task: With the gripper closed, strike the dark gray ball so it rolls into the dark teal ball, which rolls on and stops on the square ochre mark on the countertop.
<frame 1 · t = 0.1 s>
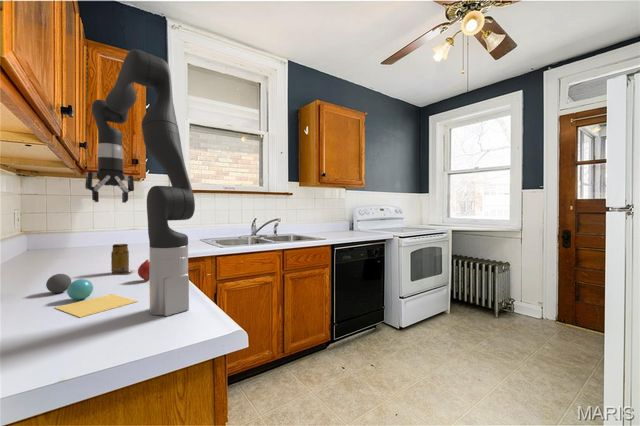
hand: (110, 202, 105), 29 cm above the worktop, tool pointing down, fingers open, 8 cm apart
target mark: (97, 304, 82), on the worktop
dark gray ball: (59, 283, 93), on the worktop
condiment: (122, 273, 121), on the worktop
object ball: (80, 289, 86), on the worktop
onion: (146, 281, 109), on the worktop
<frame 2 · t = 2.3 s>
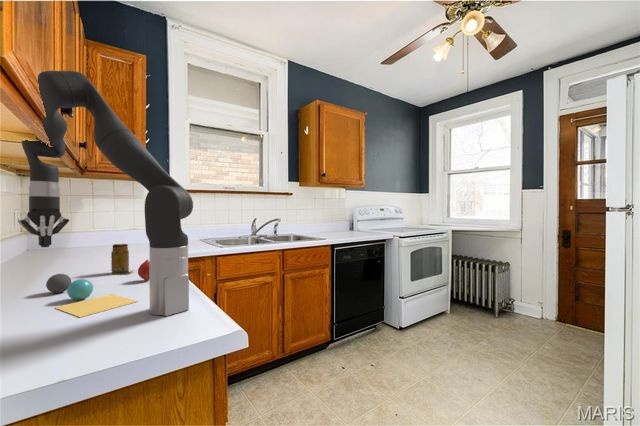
hand: (44, 247, 97), 14 cm above the worktop, tool pointing down, fingers closed
nothing on the worktop moved.
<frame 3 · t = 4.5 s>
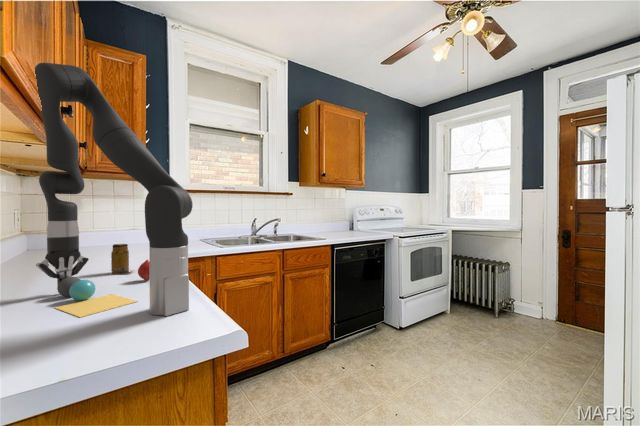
hand: (64, 289, 92), 1 cm above the worktop, tool pointing down, fingers closed
dark gray ball: (70, 286, 89), on the worktop
object ball: (82, 290, 86), on the worktop
everything else where it was.
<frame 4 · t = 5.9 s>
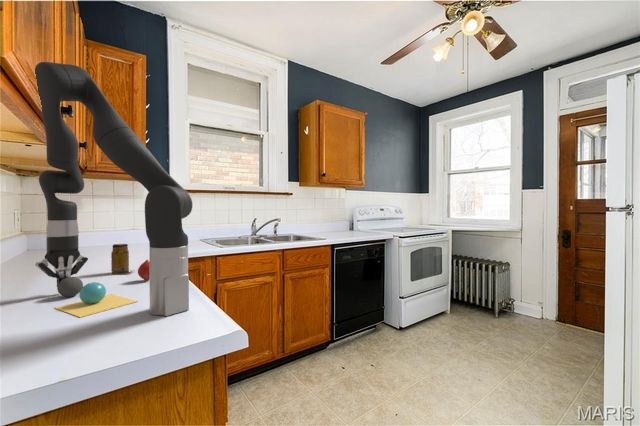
hand: (63, 289, 91), 2 cm above the worktop, tool pointing down, fingers closed
object ball: (93, 293, 83), on the worktop
everything else where it was.
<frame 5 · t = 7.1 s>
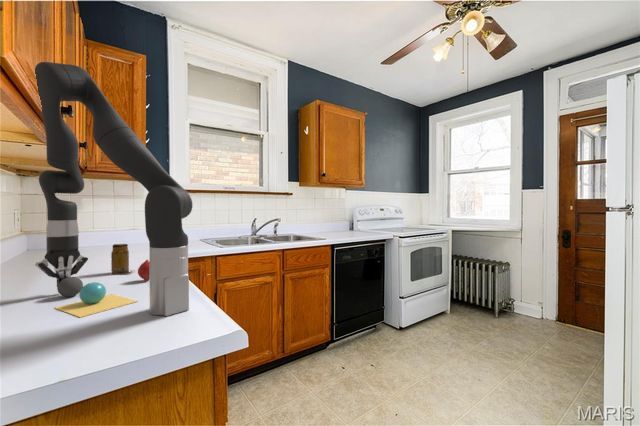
hand: (63, 289, 91), 2 cm above the worktop, tool pointing down, fingers closed
nothing on the worktop moved.
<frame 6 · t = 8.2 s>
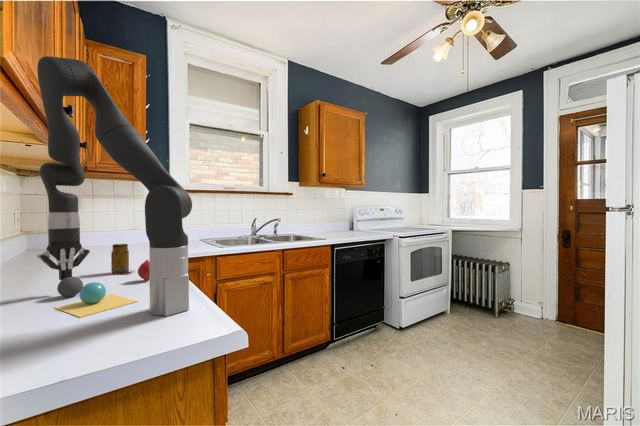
hand: (65, 281, 92), 4 cm above the worktop, tool pointing down, fingers closed
nothing on the worktop moved.
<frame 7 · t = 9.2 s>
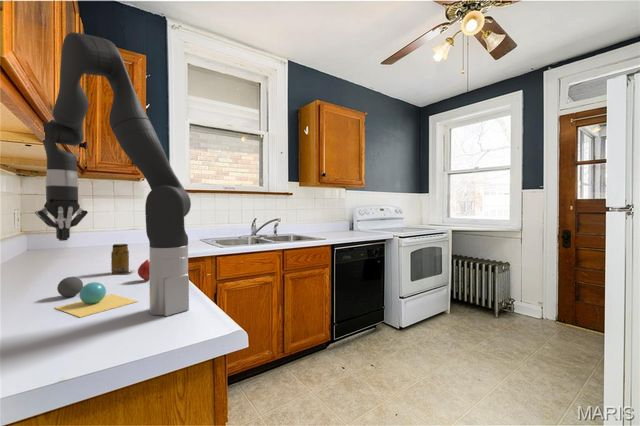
hand: (63, 240, 91), 17 cm above the worktop, tool pointing down, fingers closed
nothing on the worktop moved.
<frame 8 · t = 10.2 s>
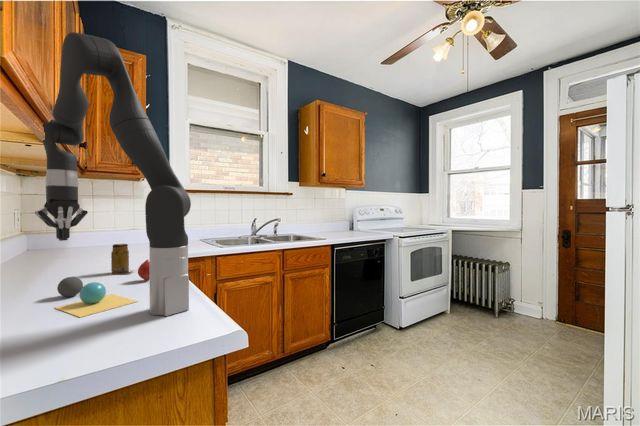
hand: (62, 240, 91), 17 cm above the worktop, tool pointing down, fingers closed
nothing on the worktop moved.
at the end: object ball 2.4 cm from the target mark (horizontally); object ball never touched the robot; dark gray ball first touched object ball at 4.4 s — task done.
